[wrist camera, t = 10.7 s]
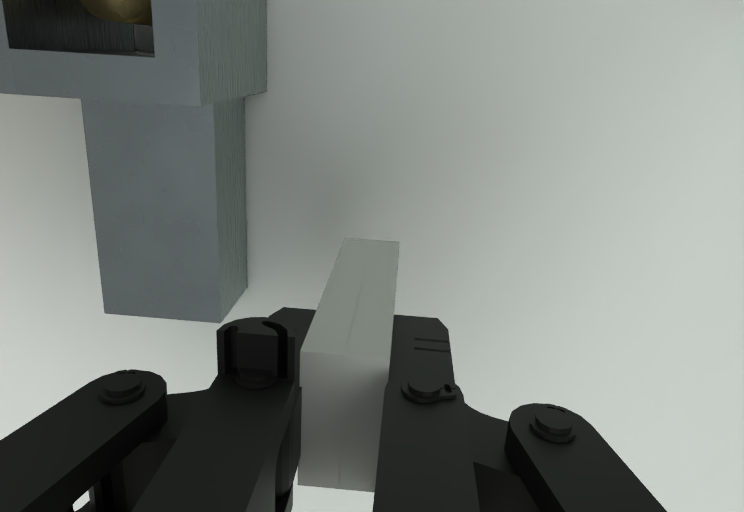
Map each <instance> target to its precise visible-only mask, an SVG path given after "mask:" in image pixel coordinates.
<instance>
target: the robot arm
mask: <svg viewBox="0 0 744 512" xmlns="http://www.w3.org/2000/svg"><path fill="white" fill-rule="evenodd" d="M399 243H400V242H392V241H379V240H366V239H353V238H345V240H344V243H343V245H342V248H341V250H340V253H339V255H338V258H337V260H336V263H335V265H334V268H333V270H332V273H331V275H330V278H329V280H328V283H327V285H326V288H325V290H324V293H323V295H322V298H321V300H320V303H319V305H318V308H317V310H310V309H298V308H286V307H283V308H282V309H280V310H278V311H277V312H275V313H273V314H272V315H270V316H269V317H268V318H267V317H250V318H244V319H238V320H234V321H232V322H229V323H227V324H224V325H223V326H222V327H220V328H219V329H218V330H217V360H218V375H217V377H216V378H215V380H214V381H213V383H212V385H211V386H210V388H209V389H206V390H202V391H195V392H188V393H177V394H167V385H166V382H165V380H164V379H163V378H162V377H161V376H160V375H157V374H155V373H153V372H150V371H141V370H128V371H127V370H122V371H117V372H115V373H111V374H108V375H104V376H102V377H100V378H97V379H95V380H93V381H91V382H89V383H88V384H86V385H85V386H83V387H82V388H80V389H79V390H77V391H76V392H74V393H73V394H71V395H69V396H68V397H66V398H65V399H63V400H62V401H60V402H59V403H57V404H56V405H54V406H53V407H51V408H50V409H48V410H46V411H45V412H43V413H42V414H40V415H39V416H37V417H36V418H34V419H33V420H31V421H30V422H28V423H27V424H25V425H23V426H22V427H20V428H19V429H17V430H16V431H14V432H13V433H11V434H10V435H8V436H7V437H5V438H4V439H2V440H0V512H74V510H73V504H74V502H75V501H76V500H77V499H78V498H80V497H81V496H82V495H83V494H84V493H85V492H86V491H88V490H89V498H90V501H88V502H87V503H86V504H85V505H84V506H83V507H82V508H80V509H79V510H77V511H75V512H291V510H292V506H293V480H294V477H295V473H296V470H297V467H298V485H304V486H315V487H325V488H335V489H345V490H356V491H366V492H375V493H374V504H373V512H667V511H666V510H665V509H664V508H663V507H662V505H661V504H660V503H659V502H658V501H657V500H656V498H655V497H654V496H653V495H652V494H651V493H650V492H649V490H648V489H647V488H646V487H645V486H644V485H643V484H642V482H641V481H640V480H639V479H638V478H637V477H636V476H635V474H634V473H633V472H632V471H631V470H630V469H629V467H628V466H627V465H626V464H625V463H624V462H623V461H622V459H621V458H620V457H619V456H618V455H617V454H616V453H615V451H614V450H613V449H612V448H611V447H610V446H609V445H608V443H607V442H606V441H605V440H604V439H603V438H602V436H601V435H600V434H599V433H598V432H597V431H596V430H595V428H594V427H593V426H592V425H591V424H590V423H588V422H587V421H586V420H585V419H584V418H582V417H581V416H580V415H578V414H576V413H574V412H572V411H570V410H568V409H566V408H563V407H560V406H555V405H552V404H538V403H533V404H527V405H522V406H520V407H518V408H517V409H515V410H513V411H512V413H511V415H510V418H509V422H508V421H504V420H501V419H497V418H494V417H491V416H488V415H485V414H483V413H480V412H478V411H476V410H474V409H473V408H471V407H469V406H468V405H467V404H466V403H464V397H463V394H462V392H461V390H460V388H459V387H458V386H457V385H456V384H455V380H454V372H453V365H452V357H451V349H450V343H449V333H448V329H447V328H446V327H445V326H444V324H443V323H442V322H441V321H440V320H439V319H438V318H428V317H416V316H404V315H394V309H395V296H396V283H397V270H398V257H399Z"/></svg>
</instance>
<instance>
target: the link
mask: <svg viewBox="0 0 744 512" xmlns="http://www.w3.org/2000/svg"><path fill="white" fill-rule="evenodd" d="M151 7H152V22H153V37H154V52H155V53H154V52H138V51H135V44H134V31H133V24H130V23H122V22H113V21H106V20H103V19H100V18H98V17H96V16H94V15H93V14H91V13H90V12H89V11H88V10H87V9H86V8H85V7H84V6H83V5H82V4H81V2H80V1H79V0H0V93H3V94H19V95H34V96H49V97H64V98H79V99H81V103H82V112H83V121H84V131H85V140H86V149H87V158H88V167H89V176H90V185H91V194H92V203H93V212H94V221H95V230H96V239H97V248H98V257H99V266H100V275H101V284H102V293H103V302H104V312H105V313H106V314H118V315H130V316H142V317H154V318H165V319H177V320H189V321H201V322H213V323H221V322H222V321H223V320H224V318H225V317H226V315H227V314H228V313H229V311H230V310H231V309H232V307H233V306H234V305H235V303H236V302H237V300H238V299H239V298H240V296H241V295H242V294H243V292H244V291H245V290H246V288H247V234H246V177H245V121H244V96H249V95H253V94H257V93H262V92H266V91H267V19H266V0H151Z"/></svg>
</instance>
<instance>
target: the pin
mask: <svg viewBox="0 0 744 512" xmlns="http://www.w3.org/2000/svg"><path fill="white" fill-rule="evenodd" d="M79 1H80V2H81V4H82V5H83V6H84V7H85V8H86V9H87V10H88V11H89V12H90V13H91V14H93V15H94V16H96V17H98V18H100V19H103V20H106V21H113V22H122V23H130V24H138V25H147V26H153V22H152V7H151V0H79Z"/></svg>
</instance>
